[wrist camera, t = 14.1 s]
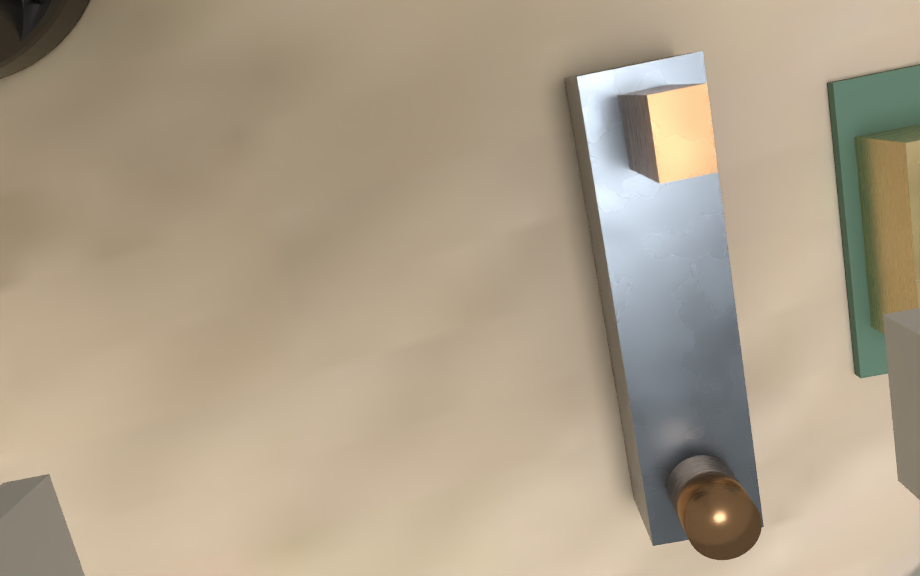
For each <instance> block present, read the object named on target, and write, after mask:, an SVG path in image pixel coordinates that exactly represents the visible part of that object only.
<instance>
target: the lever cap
mask: <svg viewBox="0 0 920 576" xmlns="http://www.w3.org/2000/svg"><path fill="white" fill-rule="evenodd" d="M854 139H855V151H856V162H857V173H858V184H859V195H860V206H861V218H862V229H863V240H864V251H865V262H866V273H867V285H868V296H869V307H870V318H871V327H872V328H874V329H876V330H878V331H879V332H881V333H883V334H884V335H885V332H884V321H883V315H884V314H889V313H894V312H899V311H905V310H910V309H915V308H920V124H917V125H912V126H907V127H902V128H897V129H892V130H886V131H881V132H876V133H871V134H866V135H861V136H856V137H854Z"/></svg>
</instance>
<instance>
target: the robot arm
mask: <svg viewBox="0 0 920 576" xmlns="http://www.w3.org/2000/svg"><path fill="white" fill-rule="evenodd" d="M88 2H89V0H0V78H3V77H6V76H9V75H11V74H14V73H16V72H18V71H20V70H22V69H24V68H26V67H28V66H30V65H32V64H33V63H35V62H36V61H38V60H39V59H41V58H42V57H43V56H45V55H46V54H47V53H49V52H50V51H51V50H52V49H53V48H54V47H55V46H56V45H58V44H59V43H60V42H61V41H62V40H63V38H64V37H65V36H66V35H67V34H68V33H69V32H70V30H71V29H72V28H73V26H74V25H75V24H76V22H77V21H78V19H79V18H80V16H81V15H82V13H83V11H84V9H85V8H86V6H87V4H88ZM883 321H884V332H885V343H886V354H887V365H888V376H889V387H890V398H891V409H892V419H893V430H894V441H895V452H896V463H897V474H898V481H899V482H900V483H902V484H903V485H904V486H905V487H906V488H907V489H908V490H909V491H910V492H911V493H913V494H914V495H915V496H916V497H917V498H918V499H919V500H920V308H915V309H910V310H905V311H899V312H894V313H889V314H884V315H883ZM0 576H85V575H84V572H83V570H82V567H81V564H80V561H79V558H78V555H77V552H76V550H75V547H74V544H73V541H72V538H71V535H70V532H69V530H68V527H67V524H66V521H65V518H64V515H63V512H62V510H61V507H60V504H59V501H58V498H57V495H56V492H55V490H54V487H53V484H52V481H51V478H50V475H49V474H48V475H42V476H37V477H32V478H27V479H22V480H16V481H11V482H6V483H3V484H2V485H0Z"/></svg>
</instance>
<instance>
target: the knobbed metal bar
mask: <svg viewBox="0 0 920 576" xmlns="http://www.w3.org/2000/svg"><path fill="white" fill-rule="evenodd" d="M564 79H565V85H566V91H567V97H568V103H569V109H570V115H571V121H572V127H573V133H574V139H575V146H576V152H577V158H578V164H579V170H580V176H581V182H582V188H583V194H584V200H585V206H586V212H587V218H588V224H589V230H590V236H591V242H592V248H593V254H594V260H595V266H596V272H597V278H598V284H599V290H600V296H601V302H602V308H603V315H604V321H605V327H606V333H607V339H608V345H609V351H610V357H611V363H612V369H613V375H614V381H615V387H616V393H617V399H618V405H619V411H620V417H621V423H622V429H623V435H624V441H625V447H626V453H627V459H628V465H629V471H630V477H631V483H632V490H633V496H634V500H635V502H636V505H637V507H638V510H639V512H640V515H641V517H642V520H643V522H644V525H645V527H646V529H647V532H648V534H649V537H650V539H651V542H652V544H653V546H655V545H661V544H666V543H672V542H678V541H684V540H689V541H690V542H691V544H692V546H693V547H694V548H695V549H696V550H697V551H698V552H699V553H700V554H702V555H704V556H706V557H708V558H711V559H716V560H728V559H733V558H736V557H739V556H741V555H743V554H744V553H746V552H747V551H748V550H750V549H751V548H752V547H753V546H754V544H755V543H756V542H757V540H758V538H759V536H760V533H761V528H762V527H764V526H763V519H762V511H761V503H760V495H759V487H758V479H757V472H756V464H755V456H754V448H753V440H752V433H751V425H750V417H749V409H748V401H747V393H746V386H745V378H744V370H743V362H742V354H741V346H740V339H739V331H738V323H737V315H736V307H735V299H734V292H733V284H732V276H731V268H730V260H729V252H728V245H727V237H726V229H725V221H724V213H723V206H722V198H721V190H720V182H719V174H718V166H717V159H716V151H715V143H714V135H713V127H712V119H711V112H710V104H709V96H708V88H707V80H706V72H705V65H704V57H703V51H700V52H695V53H689V54H683V55H677V56H672V57H667V58H662V59H657V60H652V61H647V62H642V63H638V64H633V65H628V66H623V67H618V68H613V69H608V70H603V71H598V72H594V73H589V74H584V75H579V76H574V77H569V78H564Z"/></svg>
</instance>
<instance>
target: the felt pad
mask: <svg viewBox="0 0 920 576" xmlns="http://www.w3.org/2000/svg"><path fill="white" fill-rule="evenodd" d="M827 85H828V96H829V106H830V117H831V127H832V138H833V148H834V158H835V169H836V179H837V190H838V200H839V211H840V221H841V232H842V242H843V253H844V263H845V274H846V284H847V295H848V305H849V316H850V326H851V336H852V347H853V357H854V368H855V374H856V375H857V376H858V377H860V378H865V377H870V376H876V375H882V374H887V373H888V365H887V354H886V343H885V335H884V334H883V333H881V332H879V331H878V330H876V329H874V328H872V327H871V318H870V307H869V296H868V285H867V273H866V262H865V251H864V240H863V229H862V218H861V206H860V195H859V184H858V173H857V162H856V151H855V139H854V137H856V136H861V135H866V134H871V133H876V132H881V131H886V130H892V129H897V128H902V127H907V126H912V125H917V124H920V65H915V66H910V67H905V68H900V69H895V70H890V71H885V72H880V73H875V74H870V75H865V76H860V77H855V78H850V79H845V80H840V81H835V82H830V83H827Z"/></svg>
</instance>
